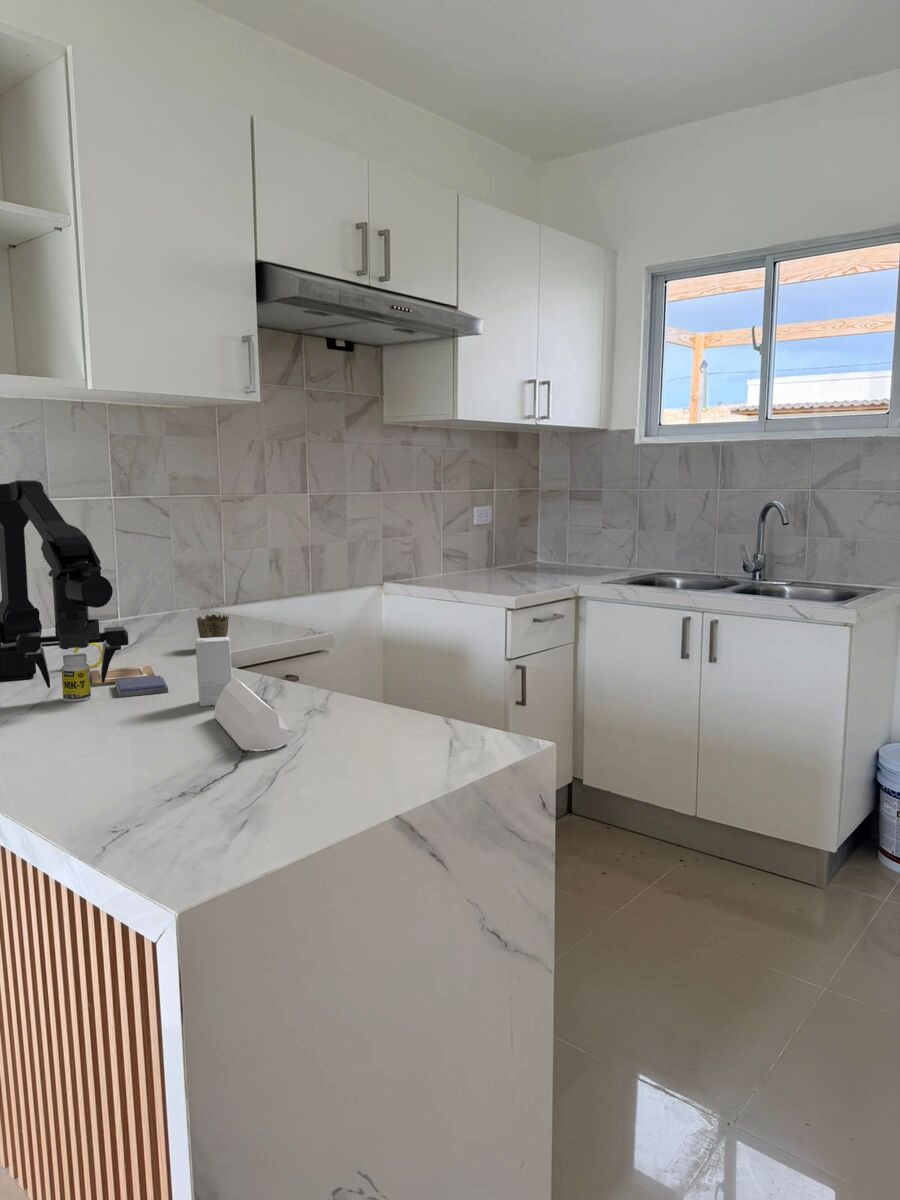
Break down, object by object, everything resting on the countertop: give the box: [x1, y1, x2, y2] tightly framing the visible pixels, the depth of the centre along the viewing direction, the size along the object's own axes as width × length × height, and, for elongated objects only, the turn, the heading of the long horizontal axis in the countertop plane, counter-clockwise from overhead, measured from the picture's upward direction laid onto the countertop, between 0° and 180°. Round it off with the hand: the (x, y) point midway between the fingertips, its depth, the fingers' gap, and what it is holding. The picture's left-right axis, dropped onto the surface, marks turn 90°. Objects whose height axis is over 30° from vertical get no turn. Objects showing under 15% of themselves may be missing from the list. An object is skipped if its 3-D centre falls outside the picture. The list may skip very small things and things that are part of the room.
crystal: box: [213, 677, 291, 751], centre depth 136 cm, size 7×7×24 cm
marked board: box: [90, 665, 156, 687], centre depth 173 cm, size 12×12×1 cm
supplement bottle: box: [61, 652, 92, 703], centre depth 156 cm, size 5×5×8 cm
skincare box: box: [194, 636, 233, 707], centre depth 152 cm, size 6×4×12 cm
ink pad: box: [114, 675, 169, 698], centre depth 163 cm, size 9×9×2 cm
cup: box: [196, 614, 230, 638], centre depth 201 cm, size 8×7×8 cm
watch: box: [72, 643, 103, 669], centre depth 182 cm, size 6×3×6 cm, turn 122°
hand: (76, 684), depth 156 cm, fingers open, 9 cm apart
